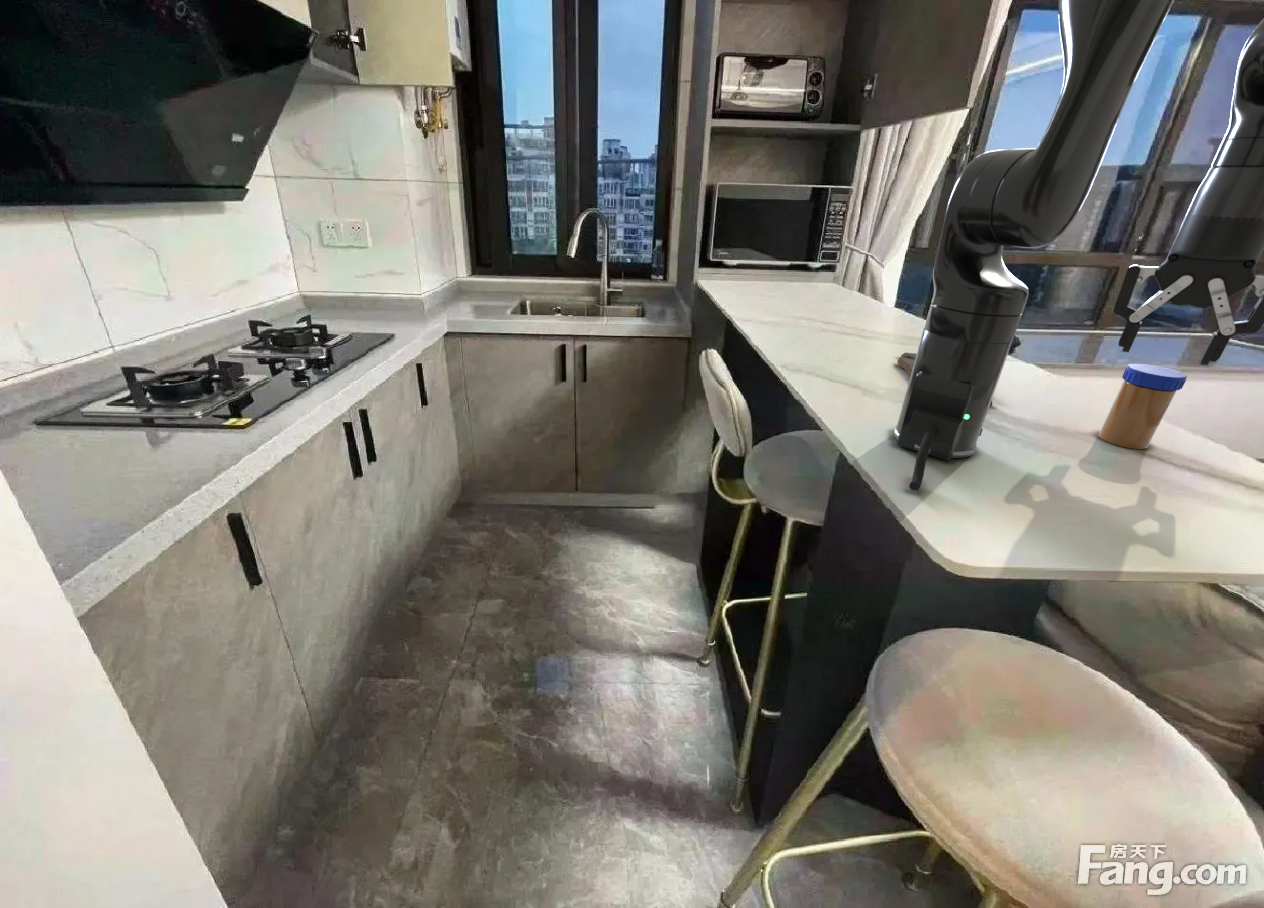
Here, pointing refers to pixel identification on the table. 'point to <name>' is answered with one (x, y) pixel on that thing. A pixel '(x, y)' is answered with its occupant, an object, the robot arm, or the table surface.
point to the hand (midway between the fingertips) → (1163, 357)
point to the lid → (1154, 377)
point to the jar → (1135, 415)
